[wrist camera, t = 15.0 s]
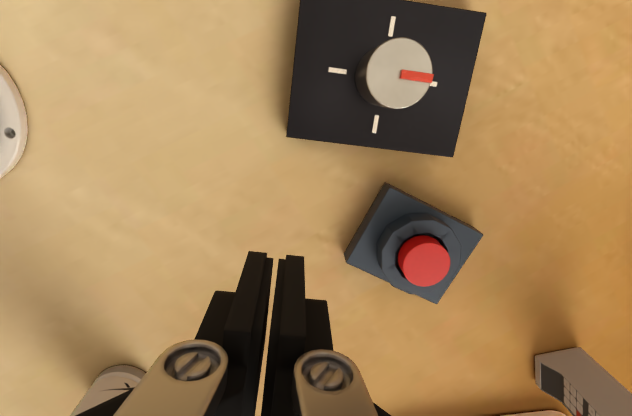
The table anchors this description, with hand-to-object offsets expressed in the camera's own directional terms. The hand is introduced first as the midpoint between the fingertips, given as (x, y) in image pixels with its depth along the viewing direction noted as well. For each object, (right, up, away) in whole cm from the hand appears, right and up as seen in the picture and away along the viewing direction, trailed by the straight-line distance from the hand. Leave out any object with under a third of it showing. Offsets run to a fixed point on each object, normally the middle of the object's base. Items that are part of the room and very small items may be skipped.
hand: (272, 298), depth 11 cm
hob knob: (+7, +13, +18) cm, 23 cm away
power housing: (+10, 0, +25) cm, 27 cm away
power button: (+10, -1, +21) cm, 24 cm away
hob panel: (+6, +14, +20) cm, 25 cm away
